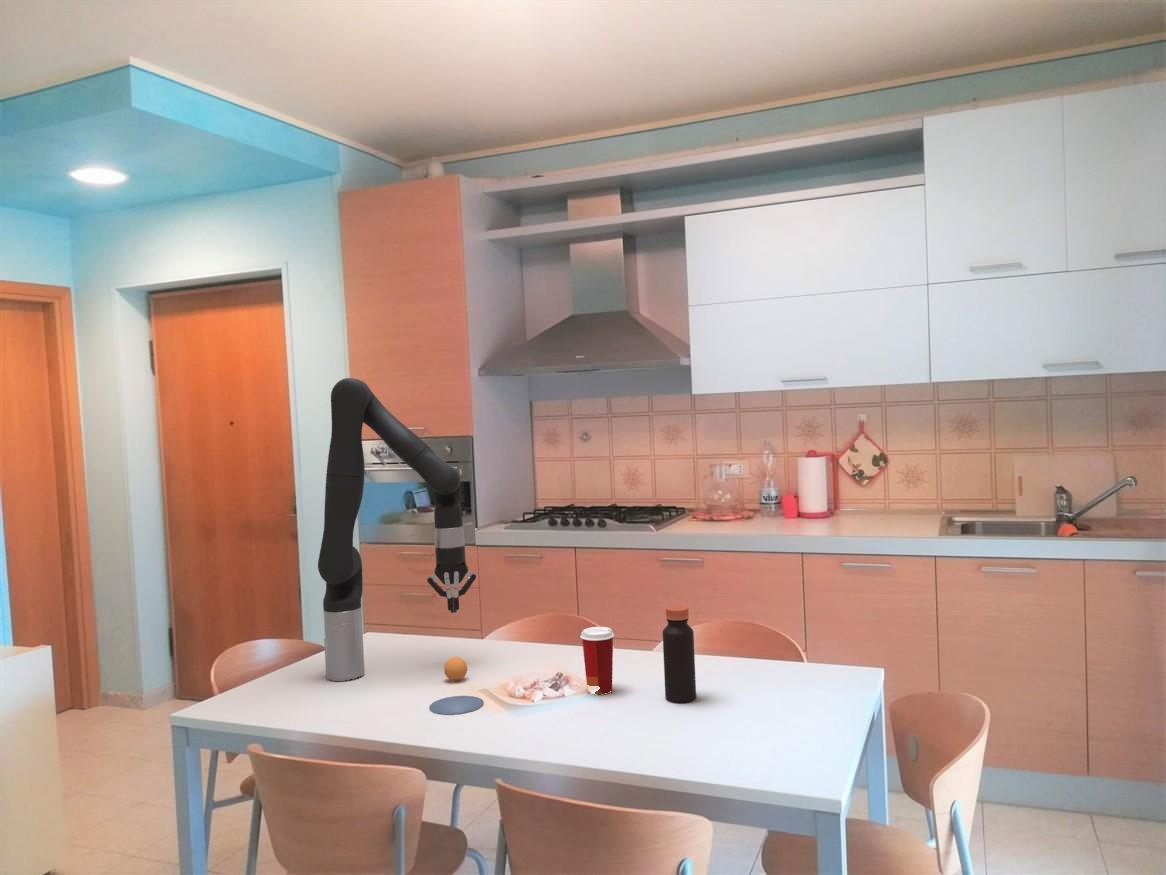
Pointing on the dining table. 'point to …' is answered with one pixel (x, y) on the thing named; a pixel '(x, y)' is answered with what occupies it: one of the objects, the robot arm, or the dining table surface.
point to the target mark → (456, 705)
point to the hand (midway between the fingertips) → (453, 612)
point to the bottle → (679, 656)
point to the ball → (455, 668)
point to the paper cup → (598, 657)
